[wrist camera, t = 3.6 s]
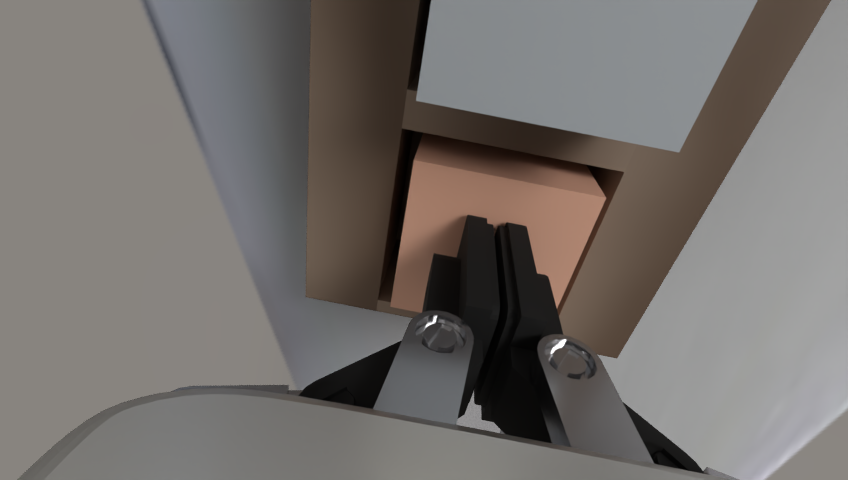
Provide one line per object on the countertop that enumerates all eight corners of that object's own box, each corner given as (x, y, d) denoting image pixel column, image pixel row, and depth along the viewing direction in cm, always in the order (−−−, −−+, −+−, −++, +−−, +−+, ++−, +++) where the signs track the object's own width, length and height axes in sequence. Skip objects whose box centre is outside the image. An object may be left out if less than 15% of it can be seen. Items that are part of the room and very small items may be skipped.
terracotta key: (428, 117, 14) (413, 160, 11) (574, 146, 14) (606, 198, 11) (407, 241, 17) (390, 306, 13) (530, 265, 17) (544, 337, 13)
